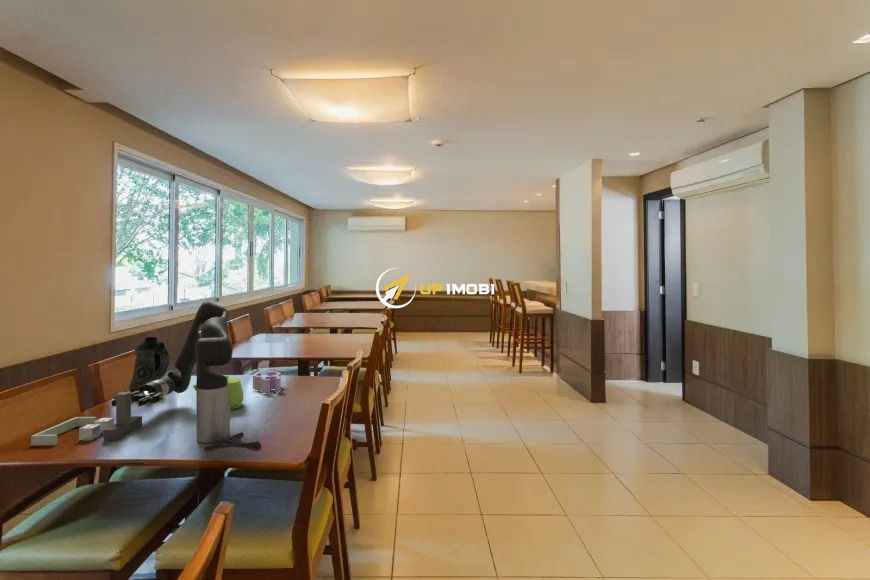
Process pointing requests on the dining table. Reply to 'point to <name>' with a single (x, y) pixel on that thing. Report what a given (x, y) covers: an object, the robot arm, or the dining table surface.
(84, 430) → the grey cube block
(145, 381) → the beer stein
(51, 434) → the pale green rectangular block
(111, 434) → the gray t-shaped block
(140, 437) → the dining table surface
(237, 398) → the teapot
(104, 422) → the beige cube
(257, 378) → the clip
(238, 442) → the bracket
